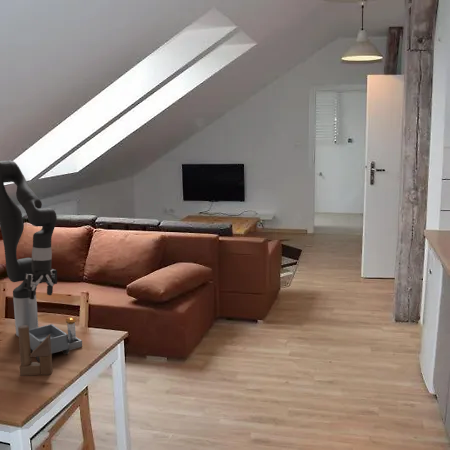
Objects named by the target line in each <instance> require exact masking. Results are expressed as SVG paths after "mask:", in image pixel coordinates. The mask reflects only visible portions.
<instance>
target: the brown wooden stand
mask: <svg viewBox="0 0 450 450" xmlns="http://www.w3.org/2000/svg"><path fill="white" fill-rule="evenodd" d="M18 334H19V336H18V345H19V357H20V358H19V359H20V365H19V376H21V377H22V376H24V377H25V376H46V375H47V376H49V375H50V376H51V375H52V373H53V371H54V369H53V358H52V357H53V353H51V338H50V334H49V335H48V336H47V337H46V339H45V340H44V341H43V342H42V343H41V344H40V345H39V346H38V347H37V348H36V349H35V350H34V351H33V352H32V353H31V350H30V336H29V326H28V325H22V326H19V327H18ZM39 356H40V357H39ZM32 357H33V358H34V357H35V358H36V357H39V358H40V362H38V361H32Z"/></svg>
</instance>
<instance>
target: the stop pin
mask: <svg viewBox="0 0 450 450" xmlns="http://www.w3.org/2000/svg"><path fill="white" fill-rule="evenodd" d="M65 323H66V324H67V325H66V326H67V334H68V343H73V342H76V337H77V335H76V323H77V318H76V317H75V316H70V317H69V316H68V317H66V318H65Z"/></svg>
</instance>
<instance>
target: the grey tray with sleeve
mask: <svg viewBox="0 0 450 450" xmlns="http://www.w3.org/2000/svg"><path fill="white" fill-rule="evenodd" d="M49 334H50V338H51V353H52V354H55V353H59V352H62V353H63V355H68V354H70V351H72V350H74V349H75V350H76V349H79V348H82V347H83V340H82V339H80V338H78V337H77V336H76V342H73V343H68V333H67V332H65V331H64V330H61V329H60V328H59V327H57V326H56V325H54V324H53V323H50V324H46V325H42V326H38V328H34V329H30V330H29V336H30V350H31V353H32V352H33V351H34V350H35V349H36V348H37V347H38V346H39V345H40V344H41V343H42V342H43V341H44V340H45V339H46V337H47V336H48V335H49ZM39 357H40V356H39ZM39 357H35V358H36V362H38V363H40V358H39Z"/></svg>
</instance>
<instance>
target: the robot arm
mask: <svg viewBox="0 0 450 450" xmlns="http://www.w3.org/2000/svg"><path fill="white" fill-rule="evenodd" d="M5 183H13V184H15V185H16V200H17V202H18V203H19V204H20V205H21V207H22V208H23V209H24V210H25V214H26V216H27V219H28V222H29V223H30V225H32V226H34V227H41V229H40V230H38V231H35V232H34V233H33V234H32V249H31V257H24V258H19V259H18V257H17V248H18V245H19V242H20V240H21V238H22V234H23V232H24V229H25V228H24V227H25V224H24V218H23V213H22V211H21V209H20V207H19V206H18V204H16V203H15V202H14V200H13V199H12V198H11V197H10V195H9V193H8V192H7V190H6V186H5ZM42 206H43V204H42V201H41V199H40V198H39V196H37V194H36V193H35V192H34V191H33V190H32V189H31V186H30V185H29V183H28V181H27V179H26V178H25V176H24V174H23V171H22V170H21V169H20V167H19V165H18V164H17V163H16V162H15V161H14V160H0V232H1V235H2V236H1V237H2V242H3V247H4V257H5V260H4V261H5V268H6V269H5V270H6V275H7V277H8V280H10V282H12V283H18V282H21V283H20V284H19V285H18V286H17V287H15V288H14V289H13V290H12V299H13V300H12V301H13V310H14V313H13V314H14V323H15V325H14V326H15V335H16V337H19V334H18V327H19V326H22V325H28V326H29V330H30V329H34V328H38V327H39V318H38V316H39V315H38V303H37V286H38V285H39V284H42V283H45V284H47V286H46V295H47V296H52V295H53V292H54V291H53V290H54V289H53V287H54V285H57V284H58V271H57V269H54V268H52V257H53V255H52V254H53V251H52V237H53V234H54V230H55V227H56V224H57V219H58V218H57V217H58V216H57V213H56V211H55V209H53V208H51V207H45V208H44V207H43V208H42Z"/></svg>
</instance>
